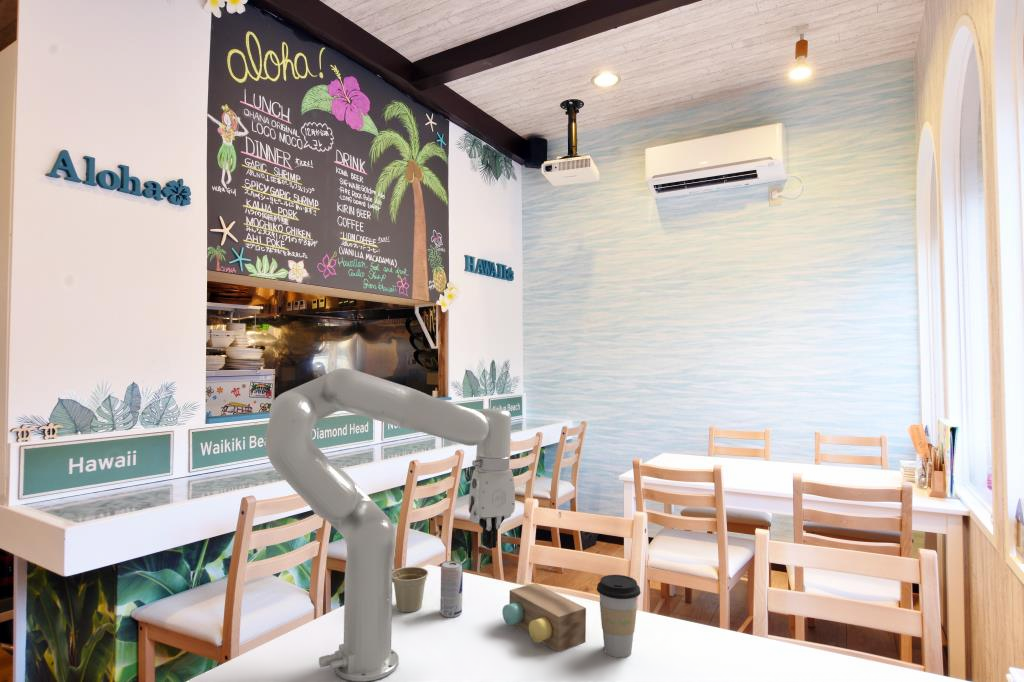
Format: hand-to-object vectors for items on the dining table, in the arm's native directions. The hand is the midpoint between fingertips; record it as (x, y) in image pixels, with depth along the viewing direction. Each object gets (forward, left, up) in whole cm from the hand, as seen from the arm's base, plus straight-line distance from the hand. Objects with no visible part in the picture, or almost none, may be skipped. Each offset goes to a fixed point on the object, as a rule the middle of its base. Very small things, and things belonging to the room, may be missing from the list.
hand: (489, 546), depth 134 cm
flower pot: (-6, +27, -21) cm, 35 cm away
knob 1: (+12, +2, -20) cm, 23 cm away
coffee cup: (+21, -19, -21) cm, 36 cm away
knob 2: (+12, -8, -20) cm, 25 cm away
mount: (+14, -3, -21) cm, 26 cm away
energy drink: (+1, +18, -21) cm, 28 cm away
